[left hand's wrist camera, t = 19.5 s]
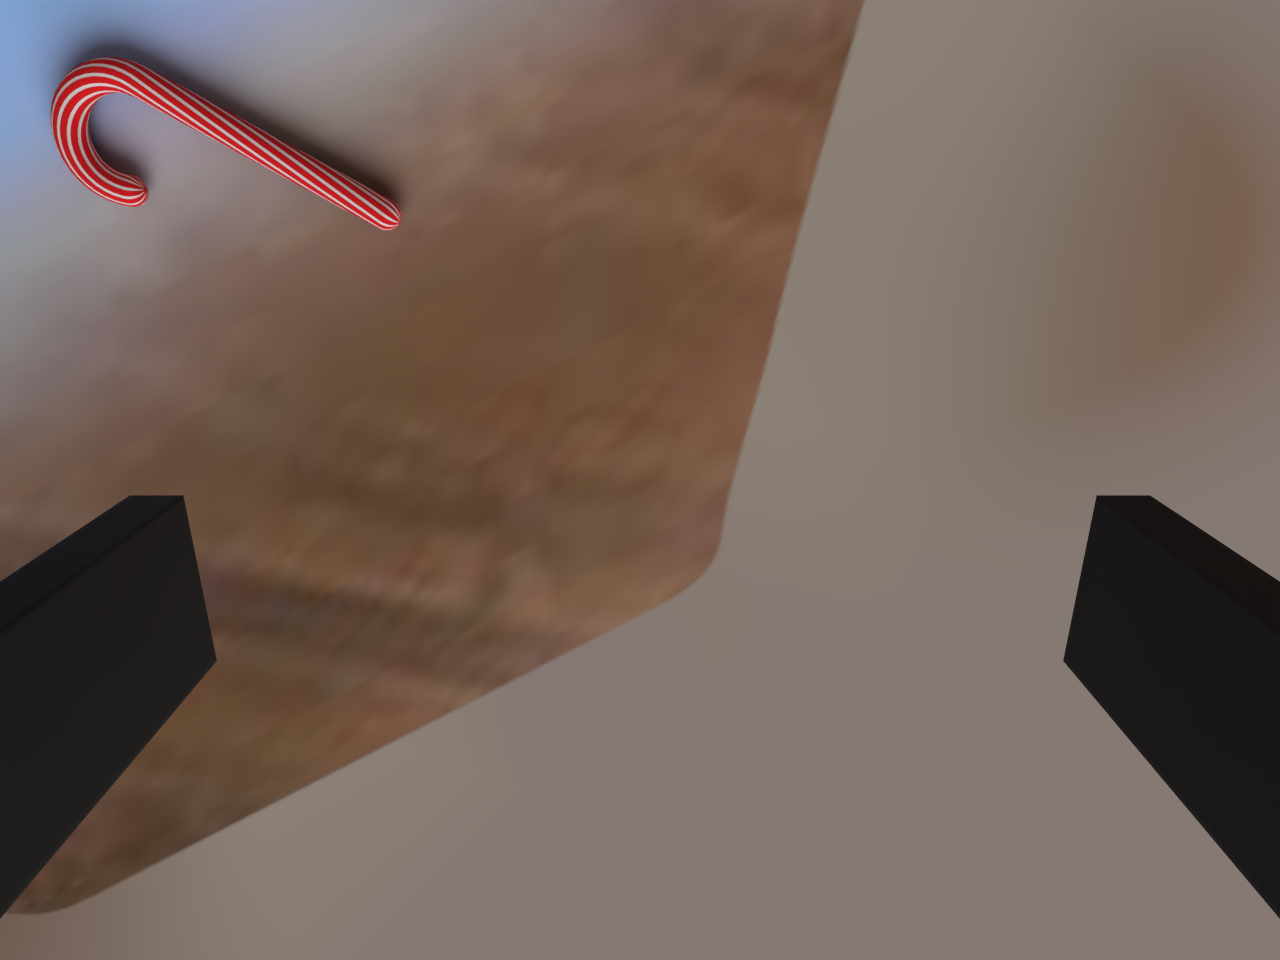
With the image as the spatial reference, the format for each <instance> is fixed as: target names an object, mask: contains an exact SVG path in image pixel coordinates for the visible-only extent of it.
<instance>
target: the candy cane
mask: <svg viewBox="0 0 1280 960" xmlns="http://www.w3.org/2000/svg"><path fill="white" fill-rule="evenodd" d="M110 93H124V94H128V95H130V96H133V97H135V98H137V99H139V100H141V101H142V102H144V103H146V104H148V105H150V106H152V107H154V108H156V109H158V110H159V111H161V112H163V113H165V114H167V115H169V116H170V117H172V118H174V119H176V120H178V121H180V122H182V123H184V124H185V125H187V126H189V127H191V128H193V129H195V130H197V131H199V132H200V133H202V134H204V135H206V136H208V137H210V138H212V139H213V140H215V141H217V142H219V143H221V144H223V145H225V146H227V147H228V148H230V149H232V150H234V151H236V152H238V153H240V154H242V155H243V156H245V157H247V158H249V159H251V160H253V161H255V162H257V163H258V164H260V165H262V166H264V167H266V168H268V169H270V170H271V171H273V172H275V173H277V174H279V175H281V176H283V177H284V178H286V179H288V180H290V181H292V182H294V183H296V184H298V185H299V186H301V187H303V188H305V189H307V190H309V191H311V192H313V193H314V194H316V195H318V196H320V197H322V198H324V199H326V200H327V201H329V202H331V203H333V204H335V205H337V206H339V207H340V208H342V209H344V210H346V211H348V212H350V213H352V214H354V215H355V216H357V217H359V218H361V219H363V220H365V221H367V222H369V223H371V224H372V225H374V226H376V227H378V228H380V229H382V230H392V229H395V228H396V227H397V226H398V225H399V224H400V222H401V219H402V213H401V209H400V207H399V206H398V205H397V204H396V203H395V202H394V201H392V200H391V199H389V198H387V197H385V196H383V195H381V194H380V193H378V192H376V191H374V190H372V189H370V188H369V187H367V186H365V185H363V184H361V183H359V182H358V181H356V180H354V179H352V178H350V177H348V176H346V175H345V174H343V173H341V172H339V171H337V170H335V169H334V168H332V167H330V166H328V165H326V164H324V163H323V162H321V161H319V160H317V159H315V158H313V157H311V156H310V155H308V154H306V153H304V152H302V151H300V150H299V149H297V148H295V147H293V146H291V145H289V144H288V143H286V142H284V141H282V140H280V139H278V138H276V137H275V136H273V135H271V134H269V133H267V132H265V131H264V130H262V129H260V128H258V127H256V126H254V125H252V124H251V123H249V122H247V121H245V120H243V119H242V118H240V117H238V116H236V115H234V114H232V113H230V112H229V111H227V110H225V109H223V108H221V107H219V106H217V105H216V104H214V103H212V102H210V101H208V100H206V99H205V98H203V97H201V96H199V95H197V94H195V93H193V92H192V91H190V90H188V89H186V88H184V87H183V86H181V85H179V84H177V83H175V82H173V81H171V80H170V79H168V78H166V77H164V76H162V75H160V74H159V73H157V72H155V71H153V70H151V69H149V68H147V67H146V66H143V65H141V64H138V63H136V62H134V61H130V60H126V59H122V58H113V57H104V58H95V59H92V60H89V61H85V62H84V63H82V64H80V65H78V66H76V67H75V68H73V69H72V70H71V71H70V72H69V73H67V74H66V76H65V77H64V78H63V79H62V81H61V82H60V84H59V85H58V87H57V89H56V91H55V94H54V98H53V101H52V107H51V127H52V133H53V137H54V140H55V143H56V146H57V149H58V151H59V153H60V155H61V157H62V159H63V161H64V162H65V164H66V165H67V167H68V168H69V170H70V171H71V172H72V173H73V174H74V176H75V177H76V178H77V179H78V180H79V181H80V182H81V183H82V184H83V185H85V186H86V187H87V188H88V189H90V190H91V191H93V192H94V193H95V194H97V195H99V196H101V197H103V198H105V199H107V200H109V201H112V202H114V203H117V204H121V205H126V206H131V207H136V206H140V205H142V204H144V203H145V202H146V201H147V199H148V195H149V194H148V189H147V187H146V185H145V184H144V183H143V181H142V180H140V179H139V178H138V177H136V176H134V175H131V174H126V173H122V172H119V171H117V170H115V169H114V168H112V167H111V166H109V165H108V164H107V163H106V162H105V161H104V160H103V159H102V158H101V157H100V156H99V154H98V153H97V151H96V150H95V148H94V146H93V144H92V141H91V138H90V134H89V116H90V113H91V110H92V108H93V106H94V104H95V103H96V102H97V101H98V100H99V99H100V98H101V97H103V96H105V95H107V94H110Z"/></svg>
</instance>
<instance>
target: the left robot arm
mask: <svg viewBox="0 0 1280 960" xmlns="http://www.w3.org/2000/svg"><path fill="white" fill-rule="evenodd" d="M216 661H217V660H216V655H215V650H214V645H213V640H212V635H211V630H210V625H209V620H208V616H207V611H206V606H205V601H204V596H203V591H202V586H201V581H200V576H199V571H198V566H197V561H196V556H195V551H194V546H193V541H192V536H191V531H190V526H189V521H188V517H187V512H186V507H185V502H184V497H183V496H129V497H127V498H126V499H124V500H123V501H121V502H120V503H118V504H116V505H115V506H113V507H112V508H110V509H109V510H107V511H106V512H104V513H103V514H101V515H100V516H98V517H97V518H95V519H94V520H92V521H91V522H89V523H88V524H86V525H85V526H83V527H82V528H80V529H79V530H77V531H76V532H74V533H73V534H71V535H70V536H68V537H67V538H65V539H64V540H62V541H61V542H59V543H58V544H56V545H55V546H53V547H52V548H50V549H49V550H47V551H46V552H44V553H43V554H41V555H40V556H38V557H37V558H35V559H34V560H32V561H31V562H29V563H28V564H26V565H25V566H23V567H22V568H20V569H19V570H17V571H16V572H14V573H13V574H11V575H10V576H8V577H7V578H5V579H4V580H2V581H1V582H0V918H1V917H2V916H3V915H4V913H5V912H6V911H7V910H8V909H9V907H10V906H11V905H12V904H13V903H14V902H15V900H16V899H17V898H18V897H19V896H20V894H21V893H22V892H23V891H24V890H25V888H26V887H27V886H28V885H29V884H30V882H31V881H32V880H33V879H34V878H35V877H36V875H37V874H38V873H39V872H40V871H41V869H42V868H43V867H44V866H45V865H46V863H47V862H48V861H49V860H50V859H51V857H52V856H53V855H54V854H55V853H56V852H57V850H58V849H59V848H60V847H61V846H62V844H63V843H64V842H65V841H66V840H67V838H68V837H69V836H70V835H71V834H72V832H73V831H74V830H75V829H76V828H77V827H78V825H79V824H80V823H81V822H82V821H83V819H84V818H85V817H86V816H87V815H88V813H89V812H90V811H91V810H92V809H93V807H94V806H95V805H96V804H97V803H98V802H99V800H100V799H101V798H102V797H103V796H104V794H105V793H106V792H107V791H108V790H109V788H110V787H111V786H112V785H113V784H114V782H115V781H116V780H117V779H118V778H119V777H120V775H121V774H122V773H123V772H124V771H125V769H126V768H127V767H128V766H129V765H130V763H131V762H132V761H133V760H134V759H135V757H136V756H137V755H138V754H139V753H140V752H141V750H142V749H143V748H144V747H145V746H146V744H147V743H148V742H149V741H150V740H151V738H152V737H153V736H154V735H155V734H156V732H157V731H158V730H159V729H160V728H161V727H162V725H163V724H164V723H165V722H166V721H167V719H168V718H169V717H170V716H171V715H172V713H173V712H174V711H175V710H176V709H177V707H178V706H179V705H180V704H181V703H182V702H183V700H184V699H185V698H186V697H187V696H188V694H189V693H190V692H191V691H192V690H193V688H194V687H195V686H196V685H197V684H198V682H199V681H200V680H201V679H202V678H203V677H204V675H205V674H206V673H207V672H208V671H209V669H210V668H211V667H212V666H213V665H214V663H215V662H216ZM1063 661H1064V662H1065V663H1066V665H1067V666H1068V667H1069V668H1070V669H1071V671H1072V672H1073V673H1074V674H1075V675H1076V677H1077V678H1078V679H1079V680H1080V681H1081V682H1082V684H1083V685H1084V686H1085V687H1086V688H1087V690H1088V691H1089V692H1090V693H1091V694H1092V695H1093V697H1094V698H1095V699H1096V700H1097V702H1098V703H1099V704H1100V705H1101V706H1102V707H1103V709H1104V710H1105V711H1106V712H1107V713H1108V715H1109V716H1110V717H1111V718H1112V719H1113V721H1114V722H1115V723H1116V724H1117V725H1118V726H1119V728H1120V729H1121V730H1122V731H1123V732H1124V734H1125V735H1126V736H1127V737H1128V738H1129V740H1130V741H1131V742H1132V743H1133V744H1134V746H1135V747H1136V748H1137V749H1138V750H1139V752H1140V753H1141V754H1142V755H1143V756H1144V757H1145V759H1146V760H1147V761H1148V762H1149V763H1150V765H1151V766H1152V767H1153V768H1154V769H1155V771H1156V772H1157V773H1158V774H1159V775H1160V777H1161V778H1162V779H1163V780H1164V781H1165V782H1166V784H1167V785H1168V786H1169V787H1170V788H1171V790H1172V791H1173V792H1174V793H1175V794H1176V796H1177V797H1178V798H1179V799H1180V800H1181V802H1182V803H1183V804H1184V805H1185V806H1186V807H1187V809H1188V810H1189V811H1190V812H1191V813H1192V815H1193V816H1194V817H1195V818H1196V819H1197V821H1198V822H1199V823H1200V824H1201V825H1202V827H1203V828H1204V829H1205V830H1206V831H1207V832H1208V834H1209V835H1210V836H1211V837H1212V838H1213V840H1214V841H1215V842H1216V843H1217V844H1218V846H1219V847H1220V848H1221V849H1222V850H1223V852H1224V853H1225V854H1226V855H1227V856H1228V857H1229V859H1230V860H1231V861H1232V862H1233V863H1234V865H1235V866H1236V867H1237V868H1238V869H1239V871H1240V872H1241V873H1242V874H1243V875H1244V877H1245V878H1246V879H1247V880H1248V881H1249V882H1250V884H1251V885H1252V886H1253V887H1254V888H1255V890H1256V891H1257V892H1258V893H1259V894H1260V896H1261V897H1262V898H1263V899H1264V900H1265V901H1266V903H1267V904H1268V905H1269V906H1270V907H1271V909H1272V910H1273V911H1274V912H1275V913H1276V915H1277V916H1278V917H1279V918H1280V582H1279V581H1278V580H1276V579H1275V578H1273V577H1272V576H1270V575H1269V574H1267V573H1266V572H1264V571H1263V570H1261V569H1260V568H1258V567H1257V566H1255V565H1254V564H1252V563H1251V562H1249V561H1248V560H1246V559H1245V558H1243V557H1242V556H1240V555H1239V554H1237V553H1236V552H1234V551H1233V550H1231V549H1230V548H1228V547H1227V546H1225V545H1224V544H1222V543H1221V542H1219V541H1218V540H1216V539H1215V538H1213V537H1212V536H1210V535H1209V534H1207V533H1206V532H1204V531H1203V530H1201V529H1200V528H1198V527H1197V526H1195V525H1194V524H1192V523H1191V522H1189V521H1187V520H1186V519H1185V518H1183V517H1182V516H1180V515H1179V514H1177V513H1175V512H1174V511H1173V510H1171V509H1170V508H1168V507H1166V506H1165V505H1163V504H1162V503H1160V502H1159V501H1157V500H1156V499H1154V498H1153V497H1151V496H1097V497H1096V502H1095V507H1094V512H1093V517H1092V521H1091V527H1090V532H1089V536H1088V541H1087V546H1086V551H1085V556H1084V561H1083V566H1082V571H1081V576H1080V581H1079V586H1078V591H1077V596H1076V601H1075V606H1074V611H1073V616H1072V621H1071V625H1070V630H1069V636H1068V640H1067V645H1066V650H1065V655H1064V660H1063Z"/></svg>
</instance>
